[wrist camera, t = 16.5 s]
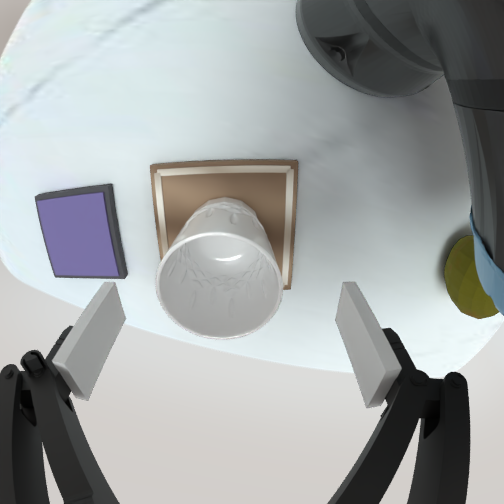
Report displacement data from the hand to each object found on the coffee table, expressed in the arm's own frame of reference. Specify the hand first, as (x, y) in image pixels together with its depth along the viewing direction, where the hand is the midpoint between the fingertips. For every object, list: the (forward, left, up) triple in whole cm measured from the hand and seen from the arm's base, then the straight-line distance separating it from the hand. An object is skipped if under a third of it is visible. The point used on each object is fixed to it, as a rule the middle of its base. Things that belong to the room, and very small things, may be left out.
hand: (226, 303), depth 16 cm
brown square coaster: (0, -1, -13) cm, 13 cm away
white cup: (0, -1, -12) cm, 12 cm away
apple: (+4, +29, -13) cm, 32 cm away
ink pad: (0, -17, -13) cm, 21 cm away
